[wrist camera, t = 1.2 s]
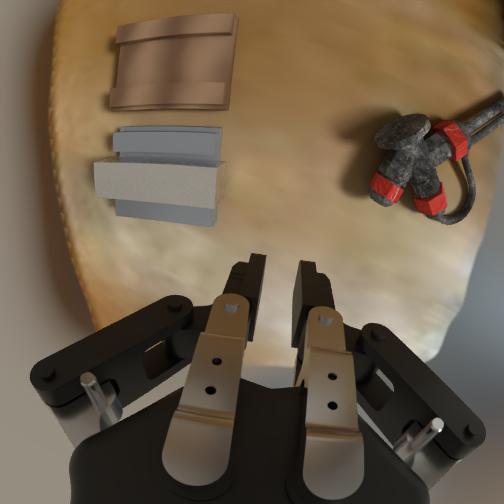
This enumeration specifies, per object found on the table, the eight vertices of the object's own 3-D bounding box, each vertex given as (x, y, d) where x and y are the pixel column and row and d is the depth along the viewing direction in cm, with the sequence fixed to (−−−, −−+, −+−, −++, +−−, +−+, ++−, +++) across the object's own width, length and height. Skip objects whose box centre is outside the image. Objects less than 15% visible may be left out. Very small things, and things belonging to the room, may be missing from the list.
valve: (390, 246, 34) (338, 148, 28) (514, 157, 26) (485, 63, 20) (411, 275, 29) (358, 164, 23) (542, 173, 21) (518, 66, 14)
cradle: (123, 110, 29) (109, 111, 26) (132, 28, 24) (118, 23, 21) (228, 110, 28) (221, 109, 25) (238, 19, 23) (233, 9, 20)
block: (114, 187, 32) (95, 197, 28) (113, 156, 30) (93, 162, 26) (223, 197, 31) (214, 208, 27) (226, 161, 29) (216, 168, 25)
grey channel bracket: (128, 211, 34) (116, 219, 32) (126, 126, 29) (112, 128, 27) (216, 221, 34) (209, 231, 31) (222, 127, 29) (215, 128, 26)
